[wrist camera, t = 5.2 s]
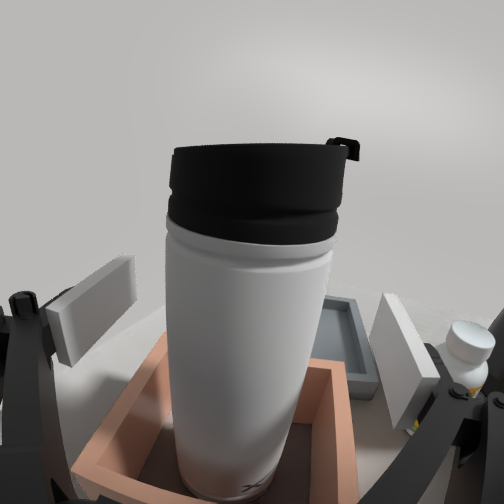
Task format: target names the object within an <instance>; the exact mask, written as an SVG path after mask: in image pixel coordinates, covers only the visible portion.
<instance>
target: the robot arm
mask: <svg viewBox="0 0 504 504" xmlns="http://www.w3.org/2000/svg"><path fill="white" fill-rule="evenodd" d="M136 301H137V292H136V274H135V255H131V254H125V253H122V254H121V255H119V256H118V257H116V258H115V259H114V260H112V261H110V262H109V263H108V264H106V265H105V266H103V267H102V268H100V269H99V270H97V271H96V272H94V273H93V274H91V275H90V276H89V277H87V278H86V279H84V280H83V281H82V282H80V283H79V284H77V285H76V286H73V287H71V288H68V289H65V290H64V291H63V292H61V293H60V294H59V295H57V296H56V297H54V298H53V299H51V300H50V301H49V302H47V303H46V304H44V305H43V306H42V307H41V308H38V304H37V299H36V294H35V293H33V292H30V291H21V292H17V293H15V294H13V295H12V296H11V297H10V298H9V304H10V308H11V312H12V315H13V316H5V315H4V312H3V309H2V307H1V306H0V404H1V401H2V399H3V405H2V445H0V504H122V503H120V502H117V501H115V500H113V499H110V498H108V497H106V496H103V495H101V494H100V495H99V497H98V499H97V500H96V501H95V500H87V499H78V497H77V495H76V493H75V491H74V488H73V485H72V481H71V477H70V473H69V469H68V465H67V460H66V456H65V451H64V446H63V441H62V435H61V429H60V423H59V416H58V409H57V401H56V392H55V382H54V370H53V361H52V358H51V356H52V355H53V354H54V353H55V352H56V354H57V357H58V360H59V363H62V364H64V365H67V366H69V367H71V368H72V367H73V366H74V365H75V364H76V363H77V362H78V361H79V360H80V359H81V358H82V357H83V356H84V354H85V353H86V352H87V351H88V350H89V349H90V348H91V347H92V346H93V345H94V344H95V343H96V342H97V341H98V340H99V339H100V338H101V336H102V335H103V334H104V333H105V332H106V331H107V330H108V329H109V328H110V327H111V326H112V325H113V324H114V323H115V322H116V321H117V320H118V319H119V318H120V317H121V316H122V315H123V314H124V313H125V312H126V311H127V310H128V308H129V307H131V306H132V305H133V304H134V302H136ZM488 331H489V332H490V333H491V334H492V335H493V337H494V339H495V346H494V348H493V350H492V352H491V354H490V357H489V358H488V359H487V360H486V362H487V365H488V375H487V378H486V380H485V382H484V384H483V386H482V388H481V390H482V391H483V392H484V393H485V394H486V395H487V396H488V397H487V398H486V400H480V399H476V398H472V395H471V393H470V391H469V390H468V389H467V388H466V387H465V386H463V385H462V384H459V383H456V382H454V381H453V379H452V377H451V375H450V373H449V371H448V369H447V367H446V366H445V365H444V362H443V360H442V359H441V356H440V355H439V353H438V351H437V350H436V349H435V348H434V347H433V346H432V345H431V344H429V343H423V342H422V340H421V338H420V336H419V334H418V332H417V331H416V329H415V327H414V325H413V323H412V321H411V320H410V318H409V316H408V314H407V312H406V311H405V309H404V307H403V305H402V304H401V302H400V300H399V298H398V297H397V295H396V294H390V293H383V294H382V297H381V301H380V304H379V307H378V311H377V314H376V317H375V320H374V324H373V327H372V330H371V333H370V336H369V340H370V343H371V346H372V350H373V353H374V357H375V360H376V364H377V367H378V371H379V374H380V378H381V382H382V385H383V389H384V393H385V397H386V401H387V405H388V409H389V413H390V417H391V421H392V425H393V429H394V430H403V429H411V428H412V426H413V425H414V423H415V421H416V420H417V421H418V424H419V426H418V428H417V429H416V431H415V432H414V434H413V435H412V437H411V438H410V439H409V441H408V442H407V444H406V445H405V446H404V448H403V449H402V450H401V452H400V453H399V454H398V456H397V457H396V458H395V460H394V461H393V462H392V463H391V465H390V466H389V467H388V469H387V470H386V471H385V472H384V473H383V475H382V476H381V477H380V478H379V479H378V481H377V482H376V483H375V484H374V485H373V486H372V488H371V489H370V490H369V491H368V492H367V493H366V494H365V495H364V497H363V498H362V499H361V500H360V501H359V502H358V503H357V504H417V502H418V501H419V499H420V498H421V496H422V495H423V493H424V492H425V490H426V489H427V487H428V485H429V484H430V482H431V480H432V479H433V477H434V475H435V474H436V472H437V470H438V468H439V467H440V465H441V463H442V461H443V459H444V458H445V456H446V454H447V452H448V450H449V448H450V446H451V445H452V446H456V450H455V455H454V461H453V466H452V471H451V476H450V481H449V485H448V489H447V493H446V497H445V501H444V504H504V309H503V310H502V311H501V313H500V314H499V315H498V316H497V318H496V319H495V320H494V322H493V323H492V324H491V326H490V327H489V329H488Z"/></svg>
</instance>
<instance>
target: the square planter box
mask: <svg viewBox="0 0 504 504" xmlns="http://www.w3.org/2000/svg"><path fill="white" fill-rule="evenodd" d="M171 408H172V405H171V393H170V380H169V366H168V348H167V332H164V333H163V335H162V336H161V337H160V339H159V340H158V342H157V343H156V344H155V346H154V347H153V349H152V350H151V352H150V353H149V354H148V356H147V357H146V359H145V360H144V361H143V363H142V364H141V366H140V367H139V369H138V370H137V372H136V373H135V374H134V376H133V377H132V379H131V380H130V382H129V383H128V385H127V386H126V387H125V389H124V390H123V392H122V393H121V395H120V396H119V398H118V399H117V401H116V402H115V403H114V405H113V406H112V408H111V409H110V411H109V412H108V414H107V415H106V417H105V418H104V420H103V421H102V423H101V424H100V426H99V427H98V429H97V430H96V431H95V433H94V434H93V436H92V437H91V439H90V440H89V442H88V443H87V445H86V446H85V448H84V449H83V451H82V452H81V454H80V456H79V457H78V459H77V460H76V462H75V463H74V465H73V466H72V468H71V469H70V471H71V473H72V474H73V476H74V477H75V479H76V480H77V482H78V483H79V485H80V486H81V488H82V489H83V491H84V492H85V493H86V495H87V496H88V498H89V499H90V500H95V501H96V500H97V499H98V497H99V495H100V494H101V495H103V496H106V497H108V498H110V499H113V500H115V501H117V502H120V503H122V504H217V503H213V502H208V501H204V500H200V499H196V498H192V497H188V496H184V495H180V494H177V493H173V492H170V491H167V490H163V489H160V488H157V487H154V486H151V485H148V484H145V483H142V482H139V481H137V478H138V476H139V474H140V472H141V470H142V468H143V465H144V463H145V461H146V459H147V457H148V455H149V453H150V451H151V449H152V447H153V445H154V443H155V441H156V439H157V437H158V435H159V433H160V431H161V429H162V427H163V425H164V423H165V420H166V418H167V416H168V414H169V412H170V410H171ZM292 422H293V423H302V424H312V451H311V479H310V499H309V504H357V503H358V502H359V495H358V480H357V467H356V456H355V445H354V435H353V426H352V417H351V409H350V401H349V393H348V385H347V378H346V371H345V364H344V362H341V361H332V360H323V359H315V358H310V360H309V363H308V367H307V371H306V374H305V378H304V382H303V385H302V389H301V392H300V396H299V399H298V403H297V406H296V410H295V413H294V416H293V419H292Z"/></svg>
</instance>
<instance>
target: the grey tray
mask: <svg viewBox="0 0 504 504" xmlns="http://www.w3.org/2000/svg"><path fill="white" fill-rule="evenodd" d="M310 358H315V359H323V360H332V361H341V362H344V364H345V371H346V378H347V385H348V393H349V399H362V400H372V398H373V395H374V393H375V391H376V389H377V387H378V384H379V379H378V375H377V371H376V368H375V364H374V360H373V357H372V353H371V350H370V346H369V343H368V339H367V336H366V332H365V329H364V326H363V322H362V319H361V316H360V312H359V309H358V306H357V303H356V300H355V299H348V298H341V297H334V296H326V295H325V297H324V302H323V306H322V311H321V315H320V319H319V324H318V328H317V332H316V336H315V340H314V344H313V348H312V352H311V356H310Z"/></svg>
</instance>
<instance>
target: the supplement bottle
mask: <svg viewBox="0 0 504 504" xmlns="http://www.w3.org/2000/svg"><path fill="white" fill-rule="evenodd" d="M494 346H495V339H494V337H493V335H492V334H491V333H490V332H489V331H488V330H487V329H485V328H484V327H482V326H480V325H478V324H476V323H473V322H469V321H456V322H454V323H453V324H452V326H451V328H450V330H449V332H448V334H447V337H446V342H445V343H442V344H440V345H438V346H437V347H436V348H435V349H436V350H437V351H438V353H439V355H440V356H441V359H442V360H443V362H444V365H445V366H446V367H447V369H448V371H449V373H450V375H451V377H452V379H453V381H454V382H456V383H459V384H462V385H463V386H465V387H466V388H467V389H468V390H469V391H470V393H471V395H472V398H476V396H477V394H478V393H479V391H480V389H481V388H482V386H483V384H484V382H485V380H486V378H487V375H488V365H487V362H486V360H487V359H488V358H489V357H490V354H491V352H492V350H493V348H494ZM418 426H419V424H418V421H417V420H416V421H415V423H414V425H413V426H412V428H411V429H406V431H407V432H408V433H409V434H410V435H411V436H412V435H413V434H414V432H415V431H416V429H417V428H418Z"/></svg>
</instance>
